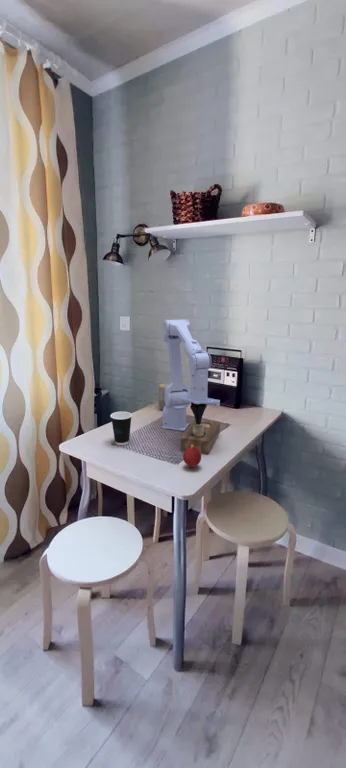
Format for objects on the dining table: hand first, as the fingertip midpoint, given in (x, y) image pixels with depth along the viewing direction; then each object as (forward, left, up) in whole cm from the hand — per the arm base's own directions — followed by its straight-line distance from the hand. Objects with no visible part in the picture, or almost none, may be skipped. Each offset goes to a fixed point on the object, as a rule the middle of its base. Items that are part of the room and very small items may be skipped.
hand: (198, 423), depth 139 cm
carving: (-25, +37, -10) cm, 46 cm away
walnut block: (0, +5, -9) cm, 11 cm away
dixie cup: (-28, -5, -10) cm, 30 cm away
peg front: (0, 0, -6) cm, 6 cm away
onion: (+2, -16, -10) cm, 19 cm away
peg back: (0, +10, -9) cm, 13 cm away
